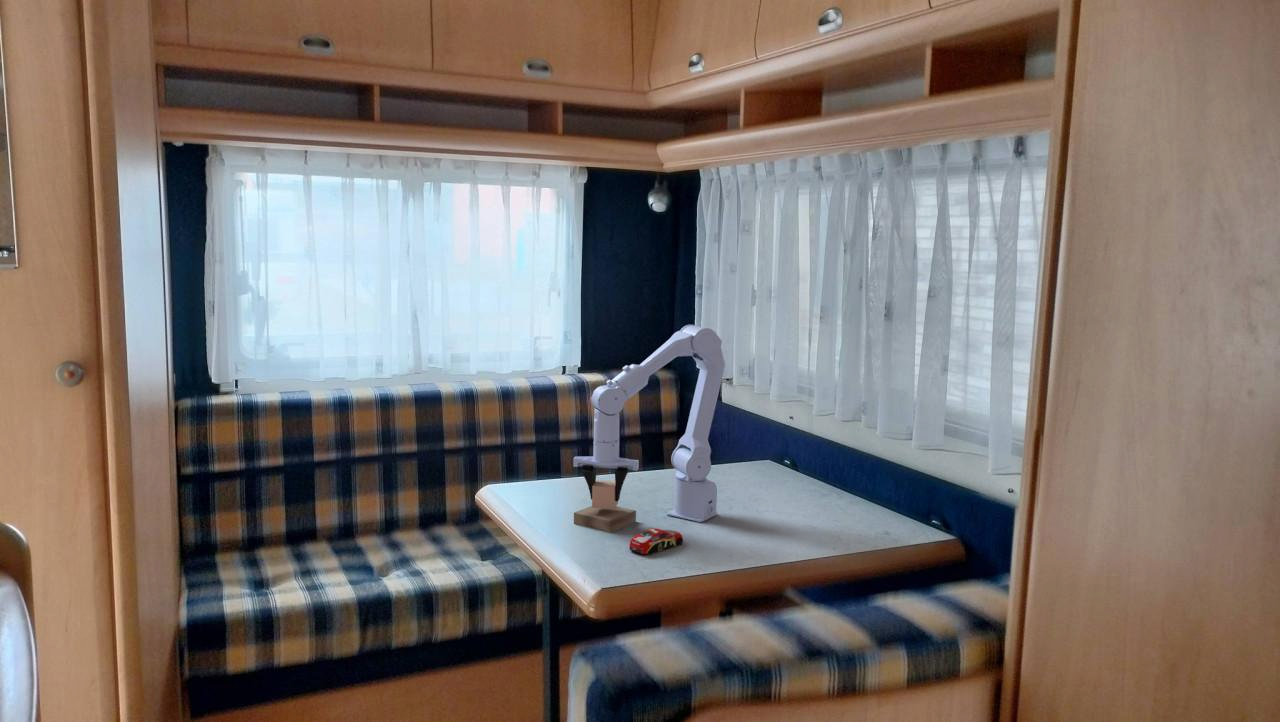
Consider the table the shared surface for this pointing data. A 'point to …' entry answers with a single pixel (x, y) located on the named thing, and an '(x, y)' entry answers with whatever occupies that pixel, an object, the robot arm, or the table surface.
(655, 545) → the race car
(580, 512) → the walnut base block
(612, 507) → the terracotta cube
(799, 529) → the table surface
